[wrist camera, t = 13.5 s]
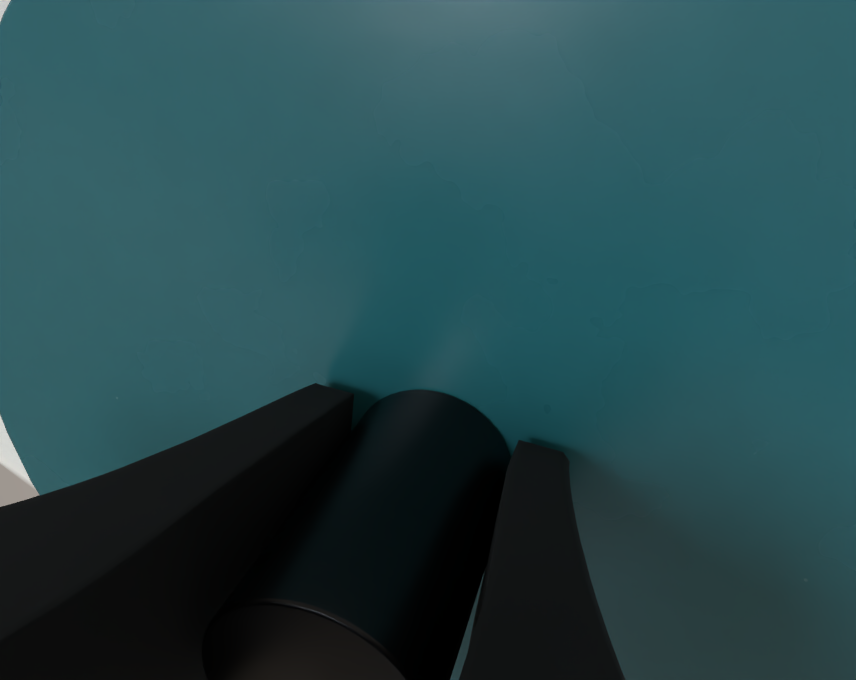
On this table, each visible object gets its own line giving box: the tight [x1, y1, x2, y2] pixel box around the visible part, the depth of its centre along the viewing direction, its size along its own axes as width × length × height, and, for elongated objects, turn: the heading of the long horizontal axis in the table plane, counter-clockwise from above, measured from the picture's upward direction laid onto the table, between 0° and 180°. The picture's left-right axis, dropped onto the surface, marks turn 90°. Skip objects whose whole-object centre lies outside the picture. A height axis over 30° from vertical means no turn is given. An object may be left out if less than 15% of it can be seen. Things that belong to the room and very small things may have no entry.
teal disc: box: [0, 0, 856, 680], centre depth 9 cm, size 17×17×5 cm
